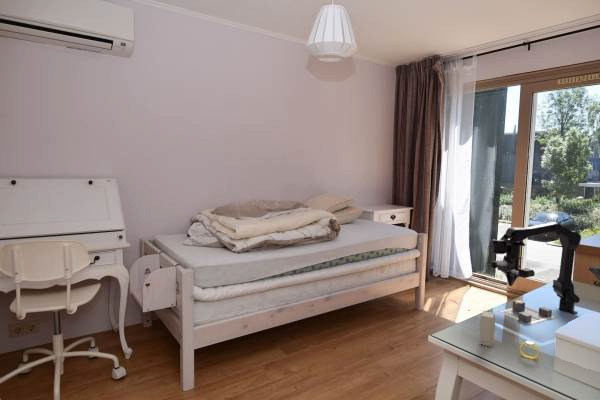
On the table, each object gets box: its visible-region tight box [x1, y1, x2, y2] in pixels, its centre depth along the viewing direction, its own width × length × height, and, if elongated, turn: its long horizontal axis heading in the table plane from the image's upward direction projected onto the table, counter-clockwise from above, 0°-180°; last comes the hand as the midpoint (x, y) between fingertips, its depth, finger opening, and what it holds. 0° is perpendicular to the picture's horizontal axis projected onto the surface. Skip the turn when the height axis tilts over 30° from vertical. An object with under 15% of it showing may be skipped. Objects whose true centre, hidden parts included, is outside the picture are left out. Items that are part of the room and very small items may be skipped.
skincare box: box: [479, 310, 496, 348], centre depth 147 cm, size 6×4×12 cm
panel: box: [497, 305, 557, 326], centre depth 171 cm, size 18×16×4 cm
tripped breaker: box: [511, 299, 526, 313], centre depth 175 cm, size 3×4×4 cm
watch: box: [519, 340, 540, 360], centre depth 136 cm, size 6×3×6 cm, turn 52°
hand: (510, 285), depth 178 cm, fingers closed
